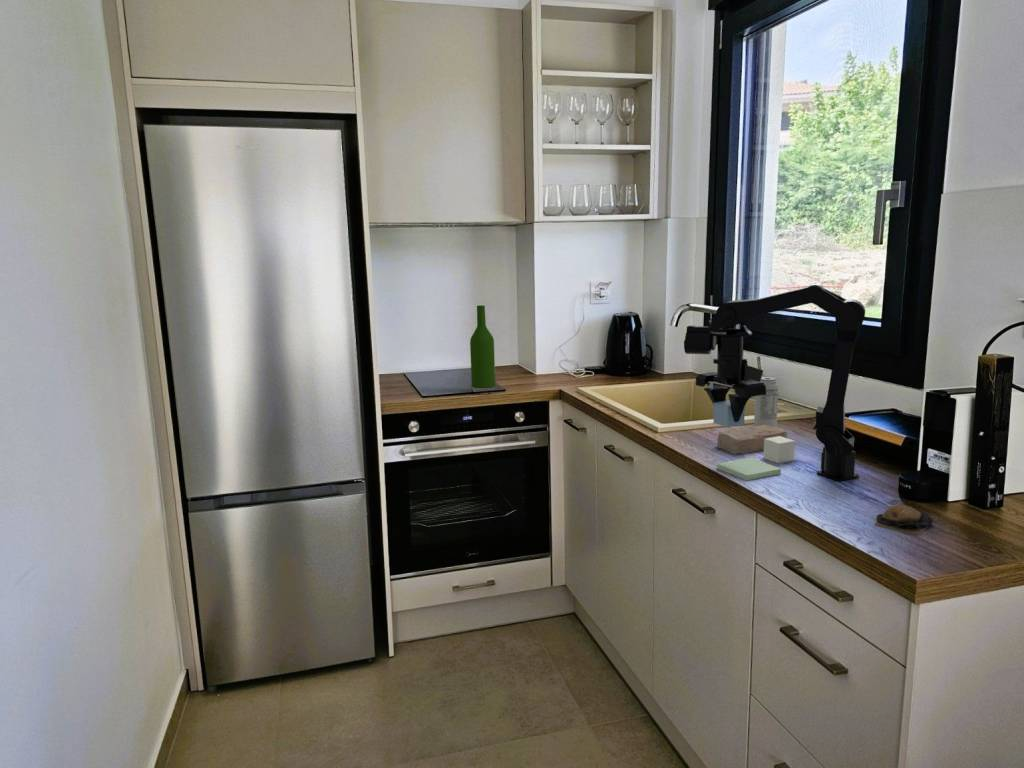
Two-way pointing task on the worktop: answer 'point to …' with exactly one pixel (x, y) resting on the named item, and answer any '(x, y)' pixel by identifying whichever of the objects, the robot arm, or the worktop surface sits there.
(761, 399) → the energy drink can
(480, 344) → the wine bottle
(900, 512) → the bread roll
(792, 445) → the cream block
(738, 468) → the green block
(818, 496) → the worktop surface
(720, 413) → the blue block
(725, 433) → the brick
